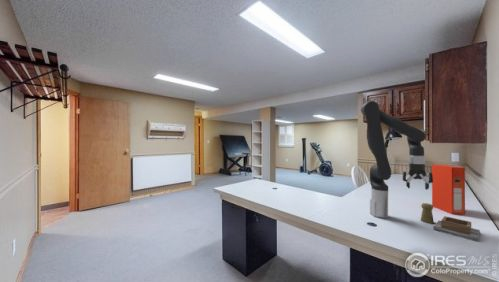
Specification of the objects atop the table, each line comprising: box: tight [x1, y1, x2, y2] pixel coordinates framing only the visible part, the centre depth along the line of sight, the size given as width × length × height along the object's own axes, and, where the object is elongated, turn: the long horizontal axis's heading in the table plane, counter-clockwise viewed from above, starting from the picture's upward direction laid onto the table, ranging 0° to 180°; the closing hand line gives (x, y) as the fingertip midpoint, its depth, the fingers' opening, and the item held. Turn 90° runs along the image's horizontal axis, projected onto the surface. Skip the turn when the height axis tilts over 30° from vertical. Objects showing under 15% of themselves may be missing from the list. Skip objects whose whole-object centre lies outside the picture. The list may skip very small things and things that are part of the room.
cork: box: [420, 202, 435, 225], centre depth 119 cm, size 6×6×11 cm
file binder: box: [431, 164, 466, 216], centre depth 141 cm, size 8×17×32 cm, turn 172°
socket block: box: [433, 215, 481, 242], centre depth 107 cm, size 16×16×6 cm
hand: (417, 188), depth 122 cm, fingers open, 8 cm apart
